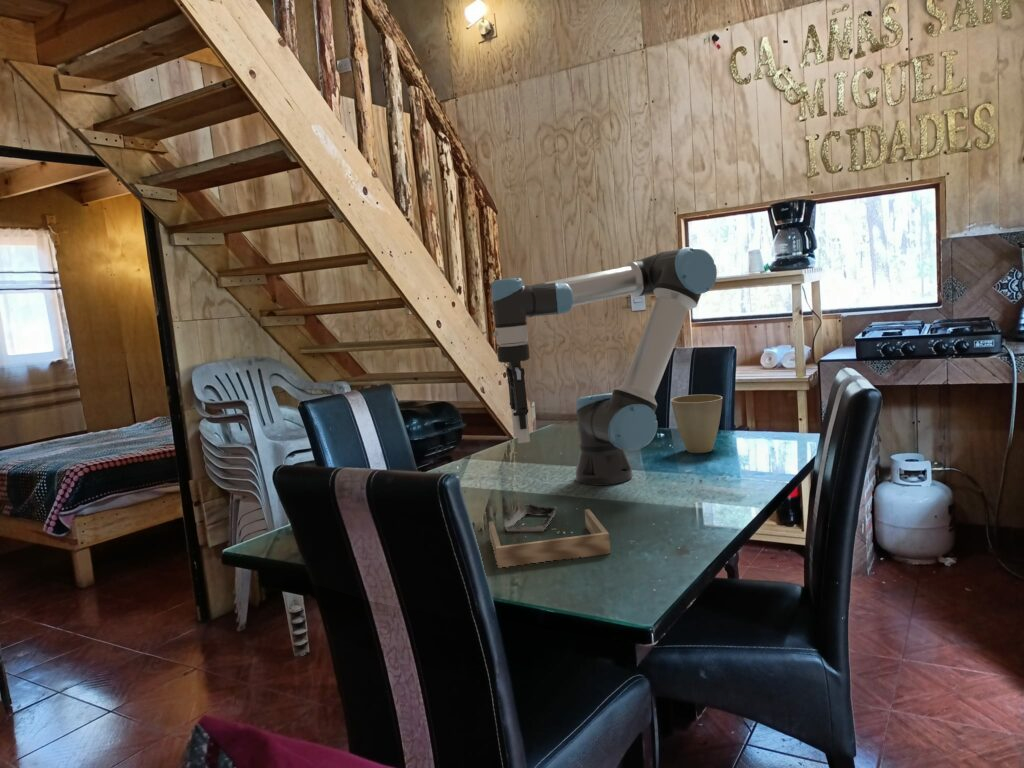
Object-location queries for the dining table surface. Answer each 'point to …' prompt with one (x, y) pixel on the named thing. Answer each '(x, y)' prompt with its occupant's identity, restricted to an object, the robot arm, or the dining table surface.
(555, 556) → the box
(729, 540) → the dining table surface
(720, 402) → the plant pot
